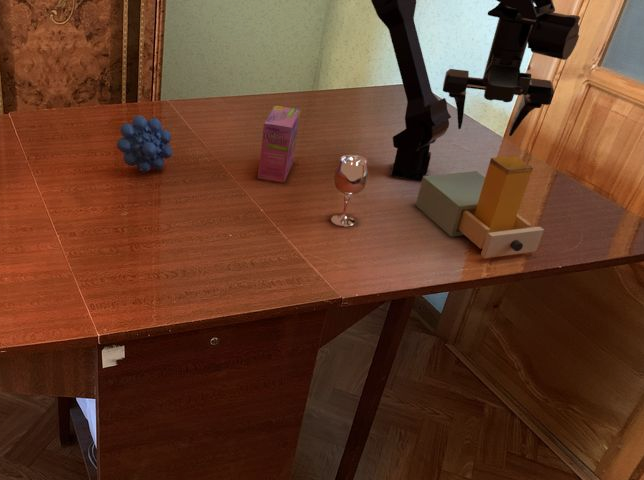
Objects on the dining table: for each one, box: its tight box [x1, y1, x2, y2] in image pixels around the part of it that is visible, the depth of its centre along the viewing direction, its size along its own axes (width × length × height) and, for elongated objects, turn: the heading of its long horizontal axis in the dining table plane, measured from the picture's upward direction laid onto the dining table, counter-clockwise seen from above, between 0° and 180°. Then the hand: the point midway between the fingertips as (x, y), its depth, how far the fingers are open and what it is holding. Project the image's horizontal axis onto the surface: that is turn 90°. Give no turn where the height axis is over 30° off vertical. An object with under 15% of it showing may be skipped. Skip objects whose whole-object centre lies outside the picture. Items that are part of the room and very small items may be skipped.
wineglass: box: [330, 154, 369, 227], centre depth 137 cm, size 6×6×12 cm
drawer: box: [457, 208, 545, 259], centre depth 133 cm, size 13×10×4 cm
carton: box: [474, 155, 534, 233], centre depth 131 cm, size 5×5×13 cm
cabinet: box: [415, 170, 486, 238], centre depth 141 cm, size 13×12×6 cm
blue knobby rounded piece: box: [116, 114, 173, 173], centre depth 151 cm, size 12×7×12 cm, turn 110°
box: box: [257, 105, 301, 184], centre depth 154 cm, size 10×6×12 cm, turn 163°
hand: (484, 131), depth 143 cm, fingers open, 9 cm apart
